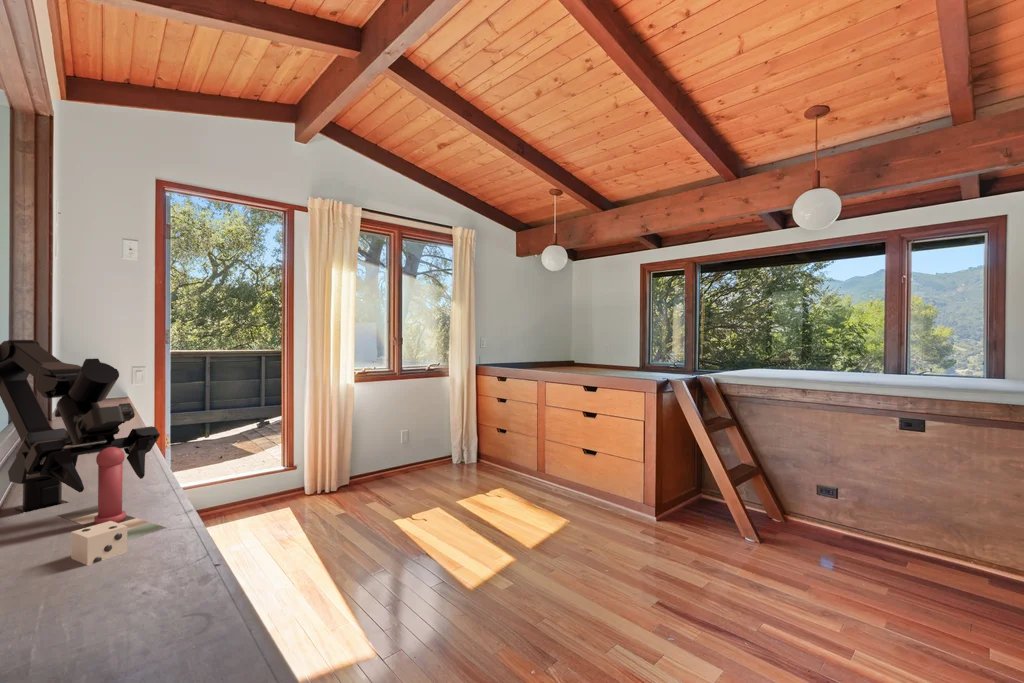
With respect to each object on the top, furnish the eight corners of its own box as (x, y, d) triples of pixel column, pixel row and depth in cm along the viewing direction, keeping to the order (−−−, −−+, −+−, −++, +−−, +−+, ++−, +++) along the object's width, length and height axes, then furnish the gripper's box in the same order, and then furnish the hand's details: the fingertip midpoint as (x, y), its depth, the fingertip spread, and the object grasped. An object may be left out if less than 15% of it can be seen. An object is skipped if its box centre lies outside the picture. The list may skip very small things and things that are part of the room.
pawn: (89, 523, 86) (89, 448, 86) (118, 515, 90) (118, 443, 90) (101, 527, 84) (102, 450, 84) (130, 519, 88) (131, 446, 88)
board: (54, 521, 89) (54, 516, 89) (98, 510, 95) (98, 505, 95) (124, 547, 78) (124, 541, 78) (169, 532, 84) (169, 526, 84)
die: (71, 564, 72) (71, 531, 72) (110, 551, 76) (110, 520, 76) (87, 571, 70) (87, 537, 70) (127, 558, 74) (127, 525, 74)
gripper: (32, 395, 80) (62, 468, 75) (155, 386, 97) (186, 445, 92) (12, 437, 84) (39, 509, 79) (134, 422, 100) (163, 480, 96)
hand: (113, 483), depth 86 cm, fingers open, 9 cm apart
